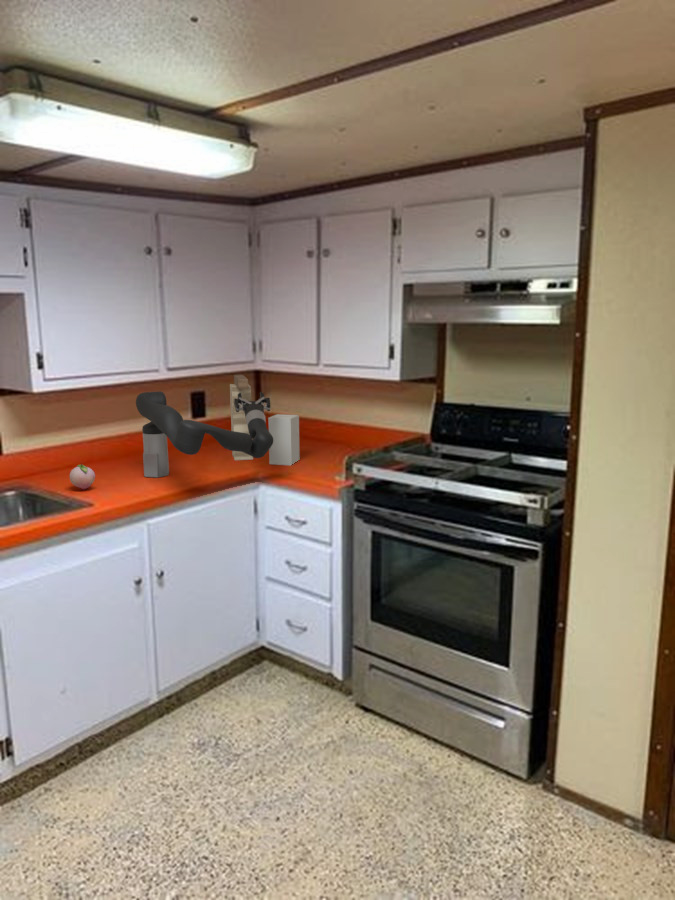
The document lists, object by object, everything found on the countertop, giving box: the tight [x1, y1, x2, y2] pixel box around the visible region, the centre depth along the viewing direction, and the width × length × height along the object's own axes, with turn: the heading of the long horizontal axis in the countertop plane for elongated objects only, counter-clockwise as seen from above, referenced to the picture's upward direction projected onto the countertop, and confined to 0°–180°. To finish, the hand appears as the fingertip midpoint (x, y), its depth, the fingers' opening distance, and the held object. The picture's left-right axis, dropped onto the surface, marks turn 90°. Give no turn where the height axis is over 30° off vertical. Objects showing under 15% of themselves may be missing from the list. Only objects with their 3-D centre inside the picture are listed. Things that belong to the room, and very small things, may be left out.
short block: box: [267, 413, 300, 466], centre depth 294 cm, size 10×10×20 cm
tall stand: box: [229, 383, 254, 461], centre depth 303 cm, size 12×8×32 cm, turn 13°
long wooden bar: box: [233, 374, 249, 389], centre depth 296 cm, size 21×4×4 cm, turn 13°
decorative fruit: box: [69, 462, 96, 491], centre depth 251 cm, size 9×8×10 cm
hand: (250, 394), depth 282 cm, fingers open, 8 cm apart
